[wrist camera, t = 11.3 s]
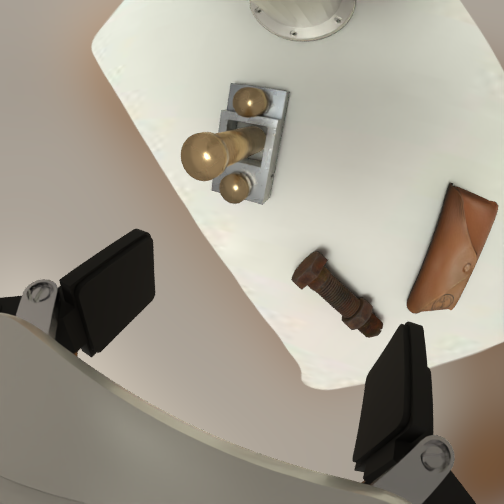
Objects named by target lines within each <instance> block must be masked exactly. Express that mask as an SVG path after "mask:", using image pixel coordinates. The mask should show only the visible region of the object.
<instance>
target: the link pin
mask: <svg viewBox="0 0 504 504" xmlns="http://www.w3.org/2000/svg"><path fill="white" fill-rule="evenodd" d="M265 141H266V135H265V133H264V132H263V130H262V129H260V128H259V127H256V126H249V127H244V128H239V129H234V130H229V131H225V132H220V133H216V134H214V133H211V132H202V133H197V134H194V135H192V136H190V137H189V138H188V139H187V140H186V141H185V142H184V144H183V146H182V150H181V161H182V164H183V167H184V169H185V170H186V172H187V173H188V174H189V175H190V176H191V177H193V178H194V179H196V180H200V181H208V180H212V179H214V178H216V177H218V176H219V175H221V174H222V173H223V172H224V171H225V169H226V167H228V166H230V165H233V164H235V163H237V162H239V161H241V160H243V159H245V158H248V157H250V156H252V155H254V154H256V153H259V152H260V151H262V150H263V149H264V146H265Z"/></svg>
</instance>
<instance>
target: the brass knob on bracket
mask: <svg viewBox="0 0 504 504" xmlns="http://www.w3.org/2000/svg"><path fill="white" fill-rule="evenodd" d="M289 93H290V92H287V91H281V90H276V89H270V88H263V87H257V86H250V85H242V84H234V83H231V85H230V92H229V98H228V105H227V110H221V117H220V124H219V132H218V133H220V132H225V131H229V130H234V129H236V127H237V121H240V122H246V123H251V124H256V125H261V126H266V127H268V129H267V135H266V141H265V146H264V152H263V158H262V161H258V160H254V159H249V158H245V159H243V160H241V161H239V162H237V163H235V164H233V165H230V166H228V167H226V169H225V171H224V172H223V173H222V174H221V175H219V176H218V177H216V178H214V179H213V182H212V191H215V192H219V193H221V195H222V197H223V198H224V199H225V200H226V201H227V202H229V203H233V204H237V203H240V202H242V201H243V200H248V201H252V202H255V203H259V204H262V205H263V204H264V203H265V202H266V201H267V200H268V199H269V198H270V194H271V189H272V183H273V178H274V176H272V174H273V173H274V172H275V168H276V162H277V157H278V152H279V146H280V141H281V136H282V131H283V125H284V120H285V114H286V109H287V104H288V98H289Z"/></svg>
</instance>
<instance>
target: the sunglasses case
mask: <svg viewBox="0 0 504 504" xmlns="http://www.w3.org/2000/svg"><path fill="white" fill-rule="evenodd" d="M452 185H453V183H450V184H449V187H448V190H447V193H446V197H445V200H444V204H443V207H442V211H441V215H440V217H439V220H438V224H437V227H436V229H435V232H434V236H433V238H432V241H431V244H430V247H429V250H428V253H427V255H426V258H425V260H424V263H423V265H422V268H421V270H420V273H419V275H418V277H417V280H416V282H415V284H414V286H413V288H412V290H411V293H410V295H409V298H408V300H407V308H408V309H409V311H410V312H412V313H419V312H422V311H433V310H443V309H450V310H452V309H453V308H454V307H455V305H456V304H457V302H458V300H459V298H460V296H461V294H462V292H463V290H464V288H465V286H466V284H467V282H468V280H469V278H470V276H471V274H472V272H473V269H474V267H475V265H476V263H477V260H478V258H479V256H480V254H481V251H482V249H483V247H484V244H485V242H486V240H487V237H488V235H489V233H490V230H491V227H492V225H493V223H494V220H495V217H496V214H497V210H498V205H497V203H496V202H493V201H489V200H487V199H485V198H483V197H480V196H478V195H476V194H474V193H471V192H469V191H467V190H464V189H461V188H459V187H456V186H452Z"/></svg>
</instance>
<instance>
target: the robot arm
mask: <svg viewBox="0 0 504 504" xmlns="http://www.w3.org/2000/svg"><path fill="white" fill-rule="evenodd" d="M249 2H250V8H251V10H252V13H253V15H254V16H255V18H256V19H257V21H258V22H259V23H260V24H261V25H262V26H263V27H264V28H266V29H267V30H268V31H270V32H272V33H273V34H275V35H277V36H279V37H282V38H285V39H289V40H295V41H312V40H318V39H322V38H325V37H328V36H330V35H332V34H334V33H336V32H337V31H338V30H340V29H341V28H343V27H344V25H345V24H346V23H347V22H348V21H349V19H350V18H351V16H352V14H353V11H354V8H355V0H249ZM259 11H261V12H260V13H259ZM337 20H340V21H341V22H340V23H337ZM294 33H297V35H296V36H293V34H294ZM59 281H60V285H61V286H60V287H58V288H57V285H56V284H55V283H54V282H53V281H51V280H45V279H43V280H38V281H35V282H33V283H31V284H30V285H29V286H28V287H27V288H26V289H25V291H24V292H23V295H22V296H15V297H4V298H0V504H476V503H475V501H474V500H473V499H472V497H471V496H470V495H469V494H468V492H467V491H466V490H465V488H464V487H463V486H462V484H461V483H460V482H459V481H458V479H457V478H456V477H455V475H454V474H453V473H452V472H451V468H452V467H453V463H454V451H453V449H452V446H451V445H450V443H449V442H448V441H447V440H446V439H445V438H443V437H441V436H438V435H433V398H432V380H431V371H430V369H429V368H428V367H427V356H426V346H425V338H424V330H423V326H421V325H418V324H415V323H412V322H406V323H405V325H404V324H400V326H399V327H398V329H397V330H396V332H395V333H394V335H393V337H392V338H391V340H390V341H389V343H388V345H387V346H386V348H385V349H384V351H383V352H382V354H381V355H380V357H379V358H378V360H377V361H376V363H375V364H374V366H373V367H372V369H371V370H370V372H369V373H368V375H367V378H366V383H365V390H364V397H363V404H362V410H361V417H360V423H359V429H358V434H357V439H356V444H355V449H354V454H353V462H356V466H355V471H361V472H364V476H363V479H364V481H363V482H362V483H359V482H356V481H352V480H348V479H344V478H340V477H336V476H332V475H328V474H324V473H320V472H317V471H313V470H309V469H306V468H303V467H299V466H296V465H293V464H289V463H286V462H283V461H280V460H277V459H274V458H271V457H268V456H265V455H262V454H259V453H256V452H254V451H251V450H249V449H246V448H243V447H241V446H238V445H236V444H233V443H231V442H228V441H226V440H224V439H221V438H219V437H217V436H214V435H212V434H210V433H208V432H205V431H203V430H201V429H199V428H197V427H195V426H192V425H190V424H188V423H186V422H184V421H182V420H180V419H178V418H176V417H174V416H172V415H170V414H169V413H167V412H165V411H163V410H161V409H159V408H157V407H156V406H154V405H152V404H150V403H148V402H147V401H145V400H143V399H141V398H140V397H138V396H136V395H135V394H133V393H131V392H130V391H128V390H126V389H125V388H123V387H121V386H120V385H118V384H116V383H115V382H113V381H112V380H110V379H109V378H107V377H106V376H104V375H103V374H101V373H100V372H98V371H97V370H95V369H94V368H92V367H91V366H90V365H88V364H87V363H85V362H84V361H82V360H81V359H80V358H78V357H77V354H78V353H77V352H78V350H79V349H80V348H81V349H82V351H83V352H85V353H86V354H88V355H89V356H90V357H93V356H94V355H95V354H96V352H97V353H99V352H101V351H102V350H103V349H104V348H105V347H106V346H107V345H108V344H109V343H110V342H111V341H112V340H113V339H114V338H115V337H116V336H117V335H118V334H119V333H120V332H121V331H122V330H123V329H124V328H125V327H126V326H127V325H128V324H129V323H130V322H131V321H132V320H133V319H134V318H135V317H136V316H137V315H138V314H139V313H140V312H141V311H142V310H143V309H144V308H145V307H146V306H147V305H148V304H149V303H150V302H151V301H152V300H153V298H154V296H155V280H154V254H153V240H152V238H151V236H150V234H149V233H148V232H145V231H142V230H139V229H134V230H132V231H131V232H129V233H128V234H126V235H124V236H123V237H121V238H120V239H118V240H117V241H115V242H114V243H112V244H111V245H109V246H108V247H106V248H105V249H103V250H102V251H100V252H99V253H97V254H96V255H94V256H93V257H92V258H90V259H88V260H87V261H86V262H84V263H82V264H81V265H80V266H78V267H77V268H75V269H74V270H72V271H71V272H70V273H68V274H67V275H65V276H64V277H63V278H61V279H60V280H59Z"/></svg>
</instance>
